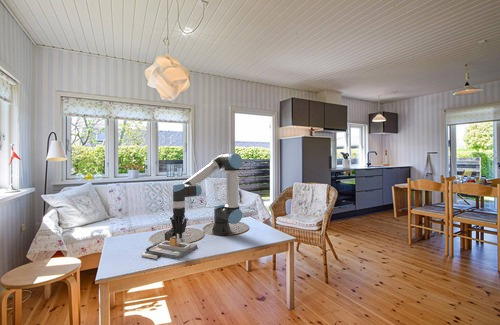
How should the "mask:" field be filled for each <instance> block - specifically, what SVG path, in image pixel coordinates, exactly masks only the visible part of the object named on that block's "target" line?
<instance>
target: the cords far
mask: <svg viewBox="0 0 500 325" xmlns="http://www.w3.org/2000/svg"><path fill="white" fill-rule="evenodd" d="M140 256H141V257H142V258H149V259H154V260H157V259H158V258H160V257H162V256H161V255H160V254H157V253H152V252H150V251H145V252H142V253H141V255H140Z"/></svg>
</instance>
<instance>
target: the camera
mask: <svg viewBox="0 0 500 325" xmlns="http://www.w3.org/2000/svg"><path fill="white" fill-rule="evenodd" d="M173 236H176V233H175V232H173V228H172V227H171V228H170V229H169V230H168V231H166V232H164V241H170V238H171V237H173Z"/></svg>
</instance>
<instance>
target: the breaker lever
mask: <svg viewBox="0 0 500 325" xmlns="http://www.w3.org/2000/svg"><path fill="white" fill-rule="evenodd" d="M170 246H176V247H179V244H177V238H176V236H173V237H171V238H170Z"/></svg>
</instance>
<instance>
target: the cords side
mask: <svg viewBox="0 0 500 325" xmlns="http://www.w3.org/2000/svg"><path fill="white" fill-rule="evenodd" d="M162 242H163V241H159V242H157V243H155V244H153V245H151V246H148V247H146V249H145V252H150V250H152V249H154V248H156V247H158V244H160V243H162Z"/></svg>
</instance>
